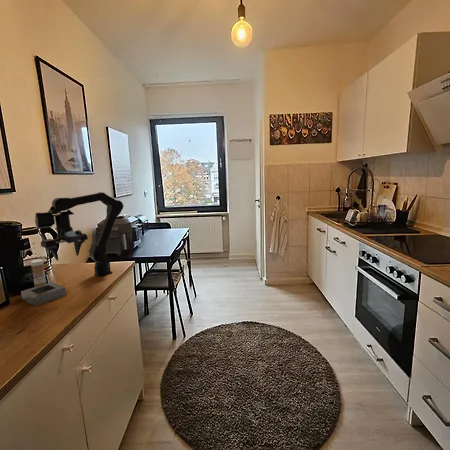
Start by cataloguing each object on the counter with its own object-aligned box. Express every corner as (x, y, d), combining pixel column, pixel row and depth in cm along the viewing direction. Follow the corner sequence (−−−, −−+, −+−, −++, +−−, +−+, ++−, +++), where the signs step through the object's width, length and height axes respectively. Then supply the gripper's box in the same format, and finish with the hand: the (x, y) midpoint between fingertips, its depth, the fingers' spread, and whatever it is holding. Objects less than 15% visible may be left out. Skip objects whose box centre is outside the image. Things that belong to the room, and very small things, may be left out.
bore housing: (53, 289, 127) (51, 282, 127) (66, 295, 120) (65, 287, 120) (22, 299, 118) (20, 291, 117) (34, 306, 111) (33, 297, 110)
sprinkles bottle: (33, 292, 125) (28, 262, 123) (37, 288, 129) (32, 259, 127) (45, 290, 126) (40, 261, 124) (48, 286, 131) (44, 258, 128)
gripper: (49, 230, 119) (54, 266, 121) (92, 223, 134) (95, 255, 136) (37, 228, 125) (43, 262, 128) (79, 221, 140) (83, 252, 143)
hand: (67, 257), depth 133 cm, fingers open, 9 cm apart
